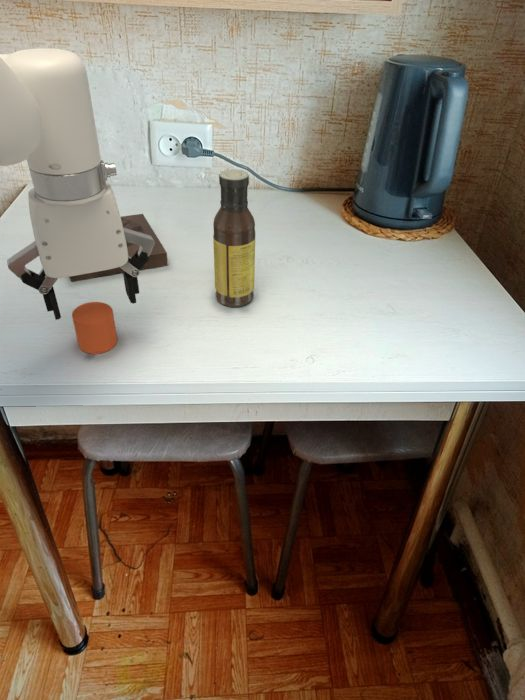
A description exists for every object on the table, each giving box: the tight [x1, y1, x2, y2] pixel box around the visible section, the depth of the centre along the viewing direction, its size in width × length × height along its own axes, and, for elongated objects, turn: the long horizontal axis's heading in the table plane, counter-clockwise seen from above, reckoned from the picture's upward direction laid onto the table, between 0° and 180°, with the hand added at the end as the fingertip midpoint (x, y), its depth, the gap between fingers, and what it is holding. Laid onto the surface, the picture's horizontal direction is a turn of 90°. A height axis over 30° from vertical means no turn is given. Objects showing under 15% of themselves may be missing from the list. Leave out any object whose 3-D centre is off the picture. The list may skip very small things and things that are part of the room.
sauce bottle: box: [212, 169, 256, 308], centre depth 75 cm, size 6×6×20 cm
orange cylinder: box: [71, 301, 118, 355], centre depth 69 cm, size 5×5×5 cm
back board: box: [69, 213, 169, 282], centre depth 90 cm, size 16×16×2 cm
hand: (95, 305), depth 67 cm, fingers open, 9 cm apart
